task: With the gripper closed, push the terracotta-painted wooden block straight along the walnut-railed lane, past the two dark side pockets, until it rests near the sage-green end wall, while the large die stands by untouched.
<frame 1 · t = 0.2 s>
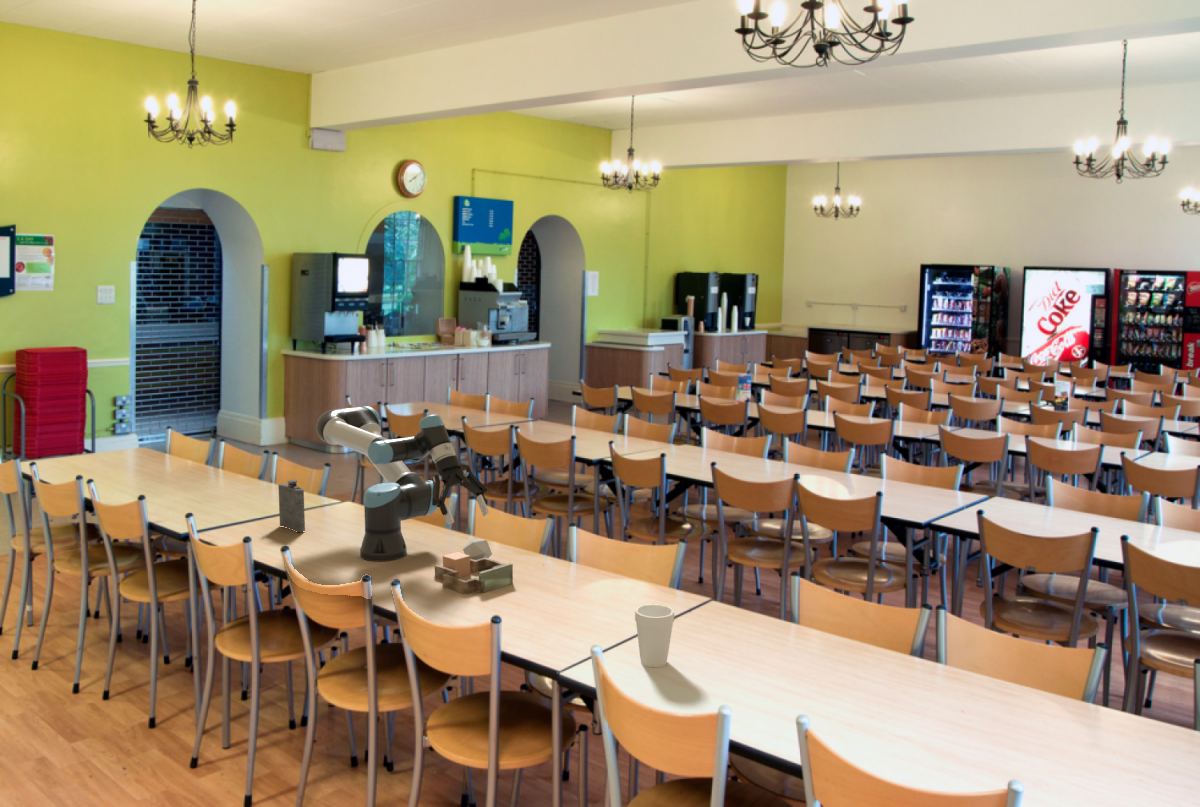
hand: (469, 518, 303), 15 cm above the table, tool tilted 35°, fingers open, 13 cm apart
die: (477, 563, 307), on the table
foam cup: (653, 662, 231), on the table
block: (456, 574, 296), on the table
trap lane: (473, 579, 290), on the table
flask: (293, 529, 345), on the table
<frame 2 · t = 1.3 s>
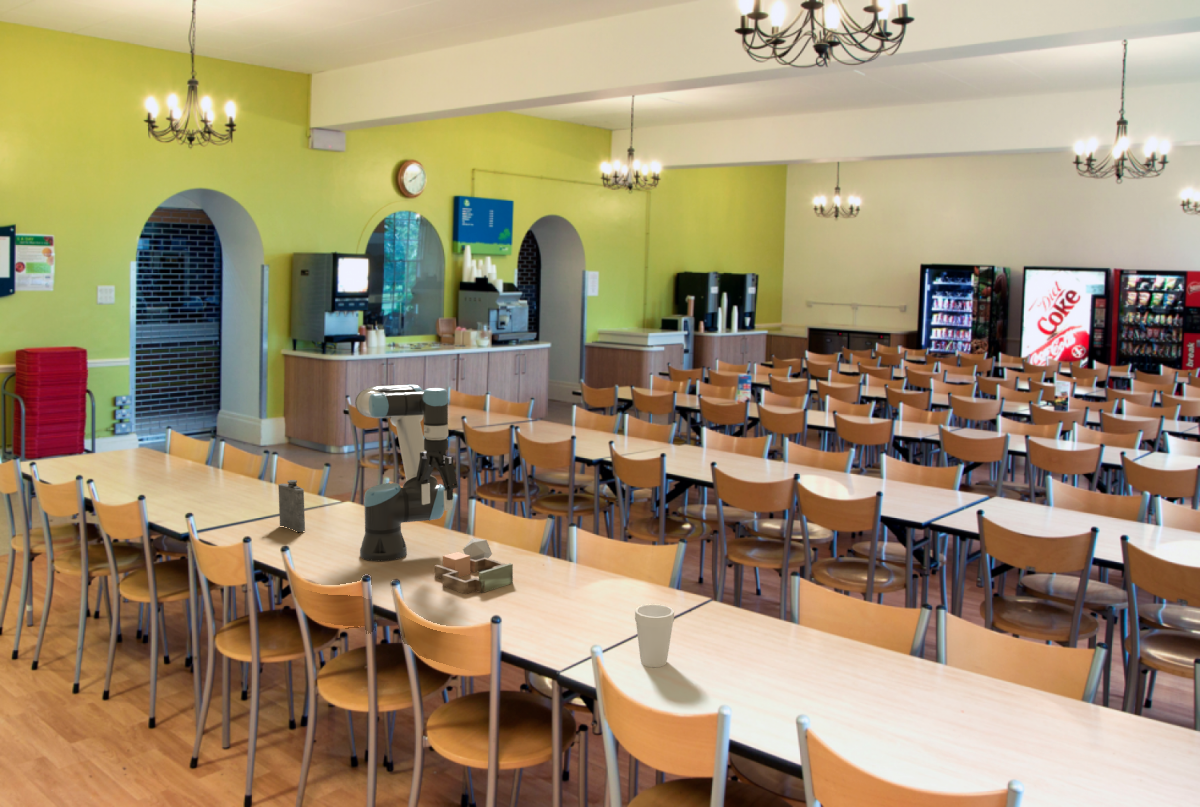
hand: (436, 506, 299), 20 cm above the table, tool pointing down, fingers open, 10 cm apart
nothing on the table moved.
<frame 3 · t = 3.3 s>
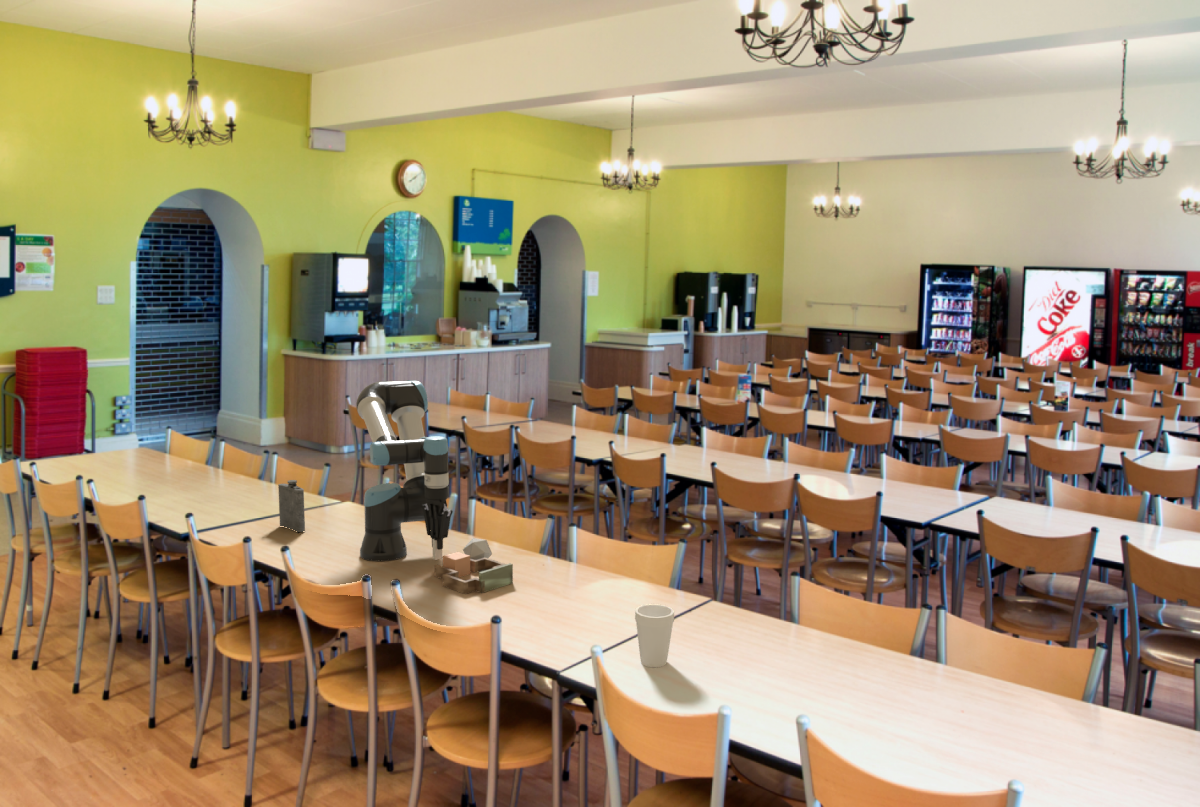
hand: (437, 558, 301), 3 cm above the table, tool pointing down, fingers closed
nothing on the table moved.
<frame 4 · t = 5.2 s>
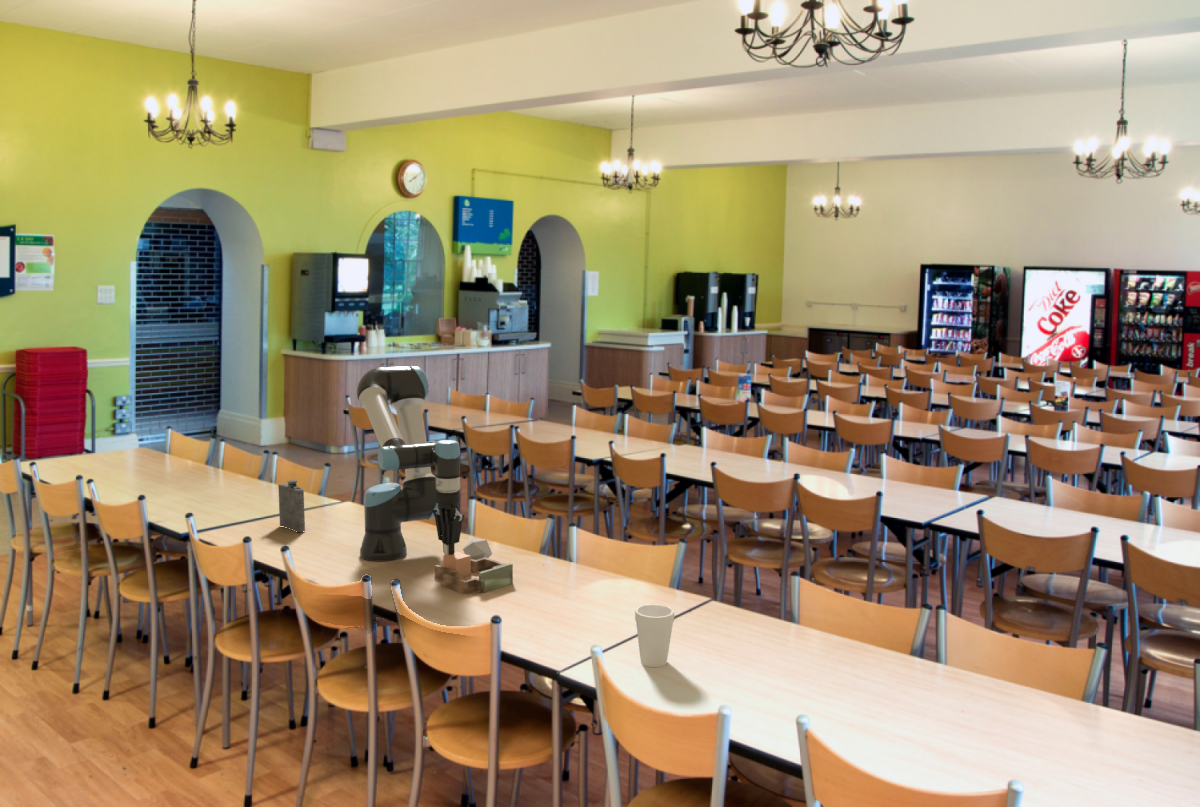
hand: (449, 563, 298), 3 cm above the table, tool pointing down, fingers closed
block: (457, 574, 296), on the table, touching gripper
everything else where it was.
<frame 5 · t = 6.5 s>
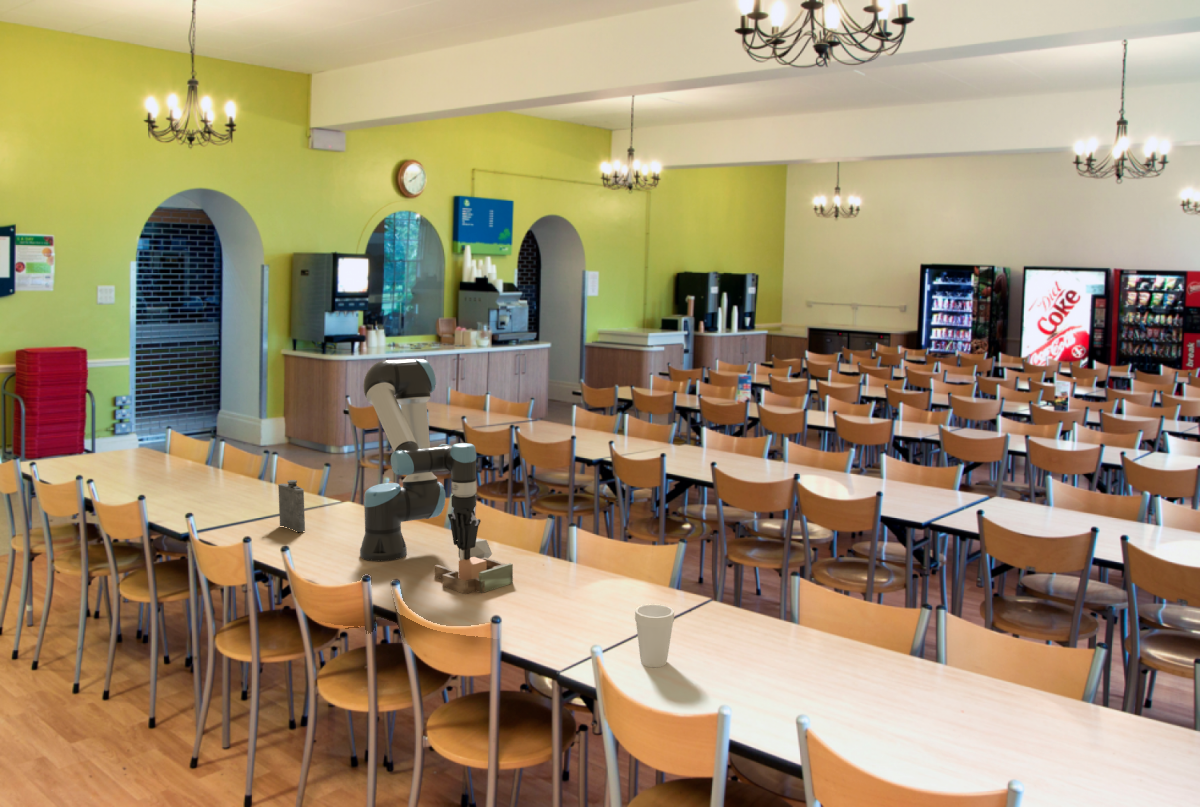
hand: (464, 568, 293), 3 cm above the table, tool pointing down, fingers closed
block: (472, 579, 291), on the table, touching gripper
everything else where it was.
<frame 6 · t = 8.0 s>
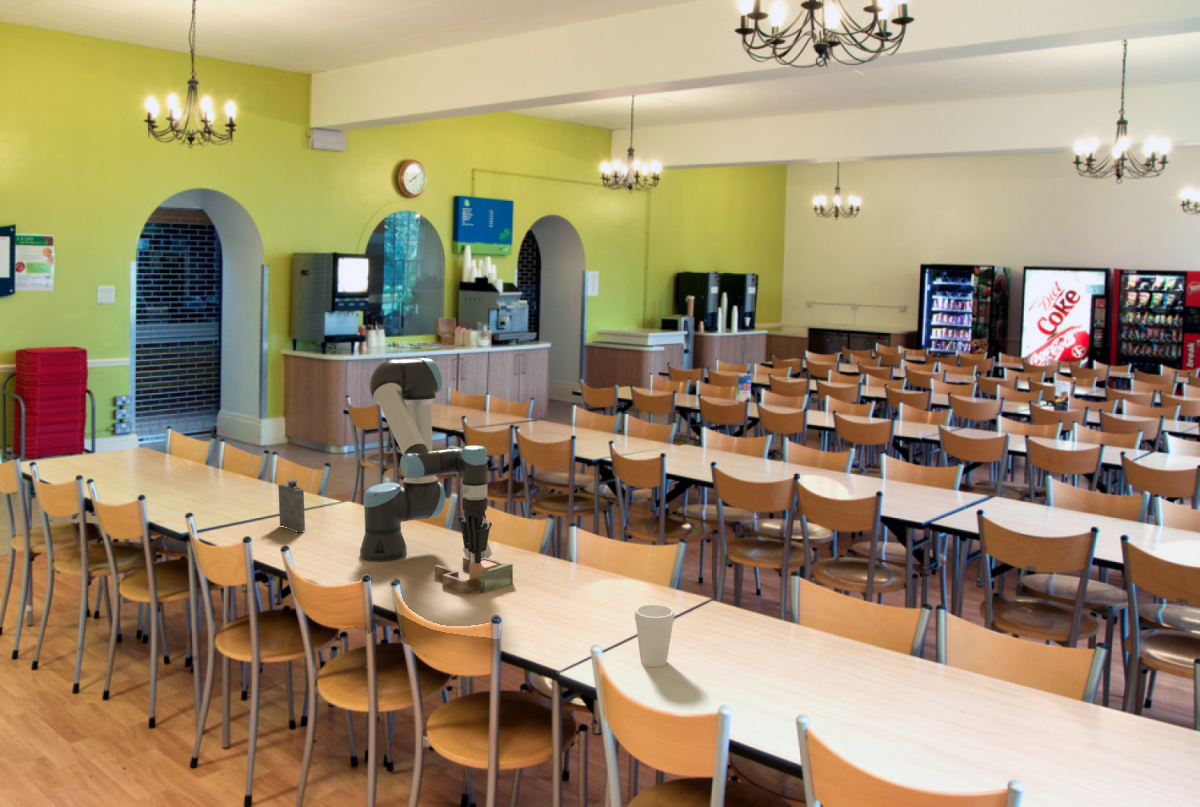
hand: (475, 572, 289), 3 cm above the table, tool pointing down, fingers closed
block: (483, 583, 287), on the table, touching gripper
everything else where it was.
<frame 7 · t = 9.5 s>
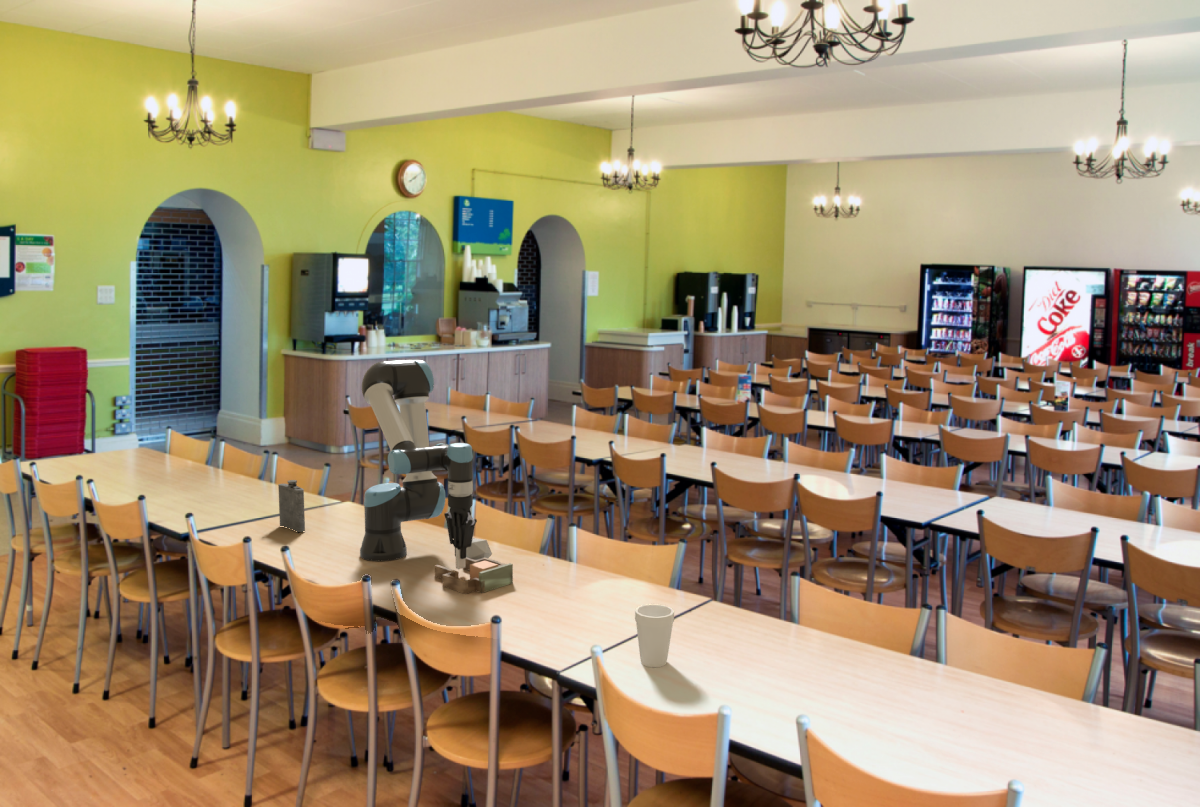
hand: (460, 567, 294), 2 cm above the table, tool pointing down, fingers closed
block: (484, 583, 287), on the table
everything else where it was.
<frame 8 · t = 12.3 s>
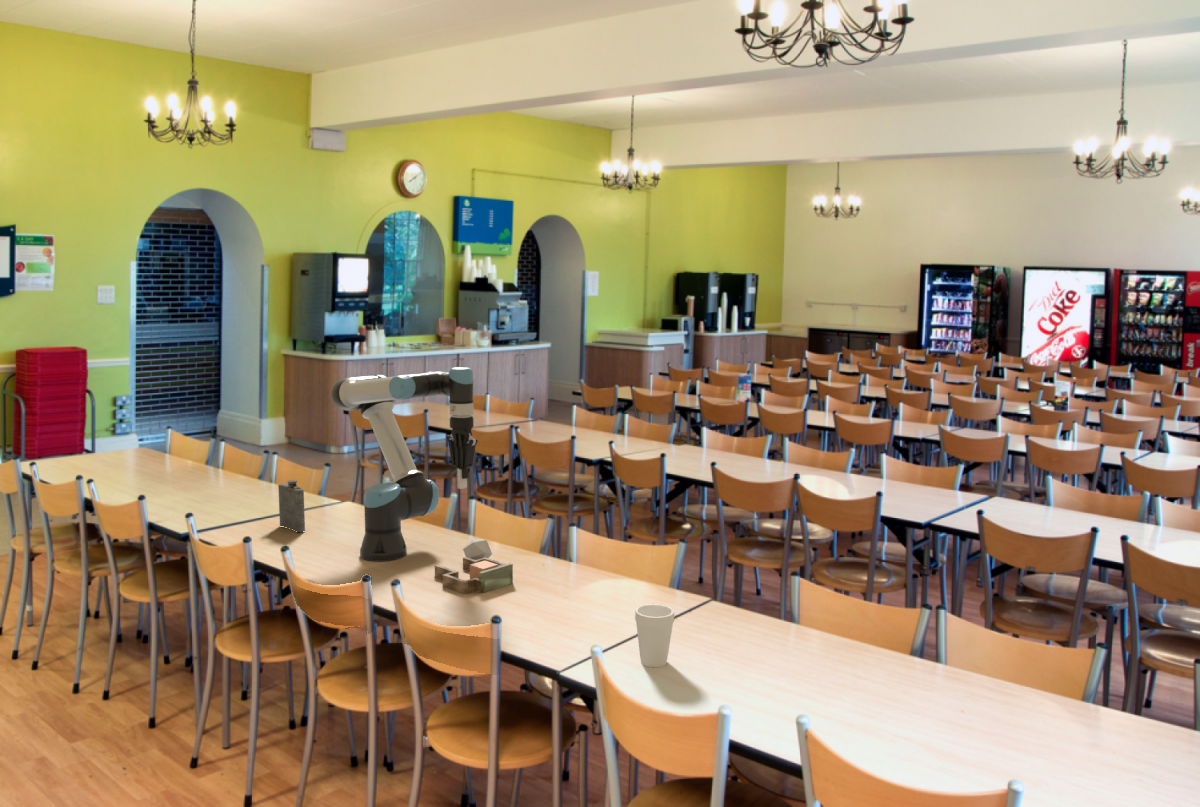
hand: (462, 487, 306), 24 cm above the table, tool pointing down, fingers closed
nothing on the table moved.
at the end: block inside the target area (0.9 cm from its centre), on the table; block tilted 0° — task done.
